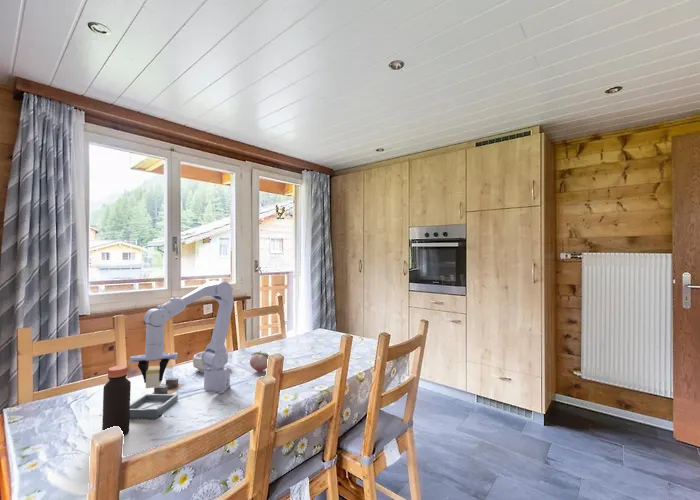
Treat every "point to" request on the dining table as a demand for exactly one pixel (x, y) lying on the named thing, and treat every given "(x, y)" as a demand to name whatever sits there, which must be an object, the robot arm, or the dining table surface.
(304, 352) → the dining table surface
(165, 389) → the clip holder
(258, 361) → the decorative fruit
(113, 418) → the bottle
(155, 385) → the white and tan block
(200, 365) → the white bowl
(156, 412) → the tray
